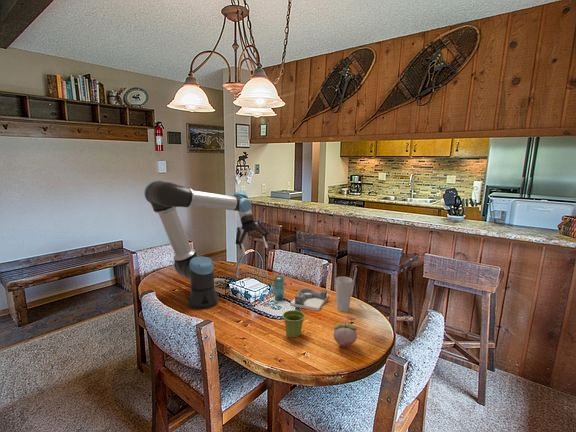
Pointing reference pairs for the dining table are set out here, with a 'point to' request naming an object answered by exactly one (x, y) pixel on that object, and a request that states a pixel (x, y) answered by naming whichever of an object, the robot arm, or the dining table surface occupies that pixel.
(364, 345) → the dining table surface
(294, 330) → the plant pot
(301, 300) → the shaft board
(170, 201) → the robot arm
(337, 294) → the cup
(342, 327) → the decorative fruit
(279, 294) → the cylinder
